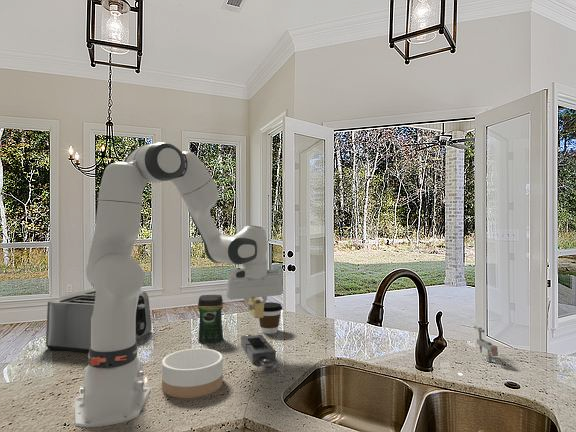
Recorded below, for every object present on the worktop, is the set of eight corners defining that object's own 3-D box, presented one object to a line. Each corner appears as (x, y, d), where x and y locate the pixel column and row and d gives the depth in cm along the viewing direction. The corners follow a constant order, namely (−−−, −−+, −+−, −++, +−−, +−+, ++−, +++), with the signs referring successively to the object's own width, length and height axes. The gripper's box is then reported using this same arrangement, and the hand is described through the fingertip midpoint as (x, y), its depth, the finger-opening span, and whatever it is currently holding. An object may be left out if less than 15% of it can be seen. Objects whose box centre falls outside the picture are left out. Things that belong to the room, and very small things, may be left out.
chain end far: (236, 340, 153) (236, 330, 153) (256, 338, 156) (256, 328, 156) (245, 355, 137) (245, 344, 137) (267, 353, 140) (267, 342, 140)
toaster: (109, 360, 133) (109, 305, 133) (32, 352, 140) (33, 300, 140) (155, 335, 161) (156, 289, 161) (90, 329, 168) (90, 286, 168)
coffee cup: (253, 330, 167) (253, 302, 167) (278, 328, 170) (278, 301, 170) (259, 338, 156) (259, 308, 156) (285, 336, 160) (285, 306, 160)
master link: (263, 317, 134) (263, 300, 134) (255, 318, 133) (254, 301, 133) (255, 309, 144) (255, 294, 144) (247, 310, 143) (247, 294, 143)
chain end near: (282, 372, 123) (282, 359, 123) (258, 375, 120) (258, 362, 120) (268, 354, 139) (268, 342, 139) (246, 356, 136) (246, 345, 136)
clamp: (498, 365, 128) (497, 334, 129) (492, 365, 128) (490, 334, 129) (478, 352, 143) (477, 325, 144) (472, 352, 143) (471, 325, 144)
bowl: (198, 370, 124) (198, 344, 124) (235, 385, 114) (235, 356, 114) (149, 388, 111) (149, 359, 111) (185, 407, 100) (185, 375, 100)
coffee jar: (224, 338, 156) (224, 292, 156) (221, 345, 148) (221, 296, 148) (200, 339, 155) (200, 292, 155) (196, 345, 147) (196, 297, 147)
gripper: (280, 267, 144) (280, 304, 145) (225, 271, 138) (225, 310, 138) (285, 270, 138) (285, 308, 139) (228, 274, 132) (229, 314, 132)
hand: (255, 309), depth 138 cm, fingers closed on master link, 3 cm apart
